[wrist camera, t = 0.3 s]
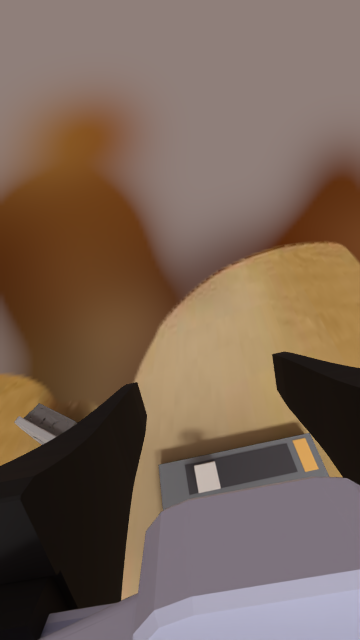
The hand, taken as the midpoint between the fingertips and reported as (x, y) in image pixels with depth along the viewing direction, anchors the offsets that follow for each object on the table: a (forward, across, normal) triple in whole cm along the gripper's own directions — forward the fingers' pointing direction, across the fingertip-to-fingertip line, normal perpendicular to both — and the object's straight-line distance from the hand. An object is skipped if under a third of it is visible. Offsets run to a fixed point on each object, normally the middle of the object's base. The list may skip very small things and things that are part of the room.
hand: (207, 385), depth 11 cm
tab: (+16, +2, +23) cm, 28 cm away
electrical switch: (+23, +26, +18) cm, 39 cm away
